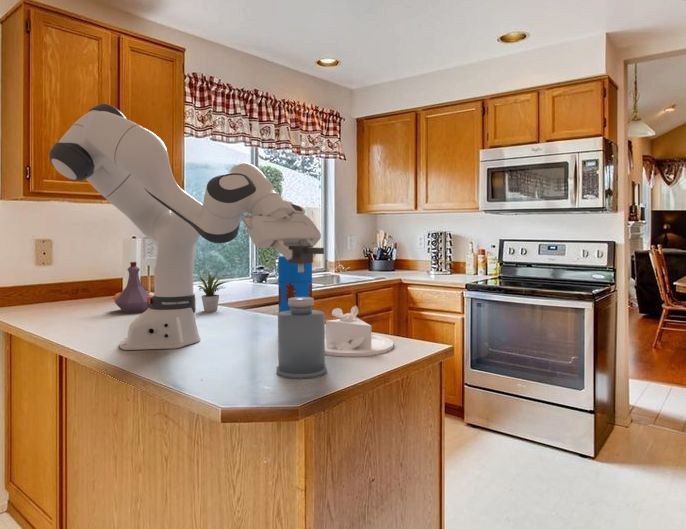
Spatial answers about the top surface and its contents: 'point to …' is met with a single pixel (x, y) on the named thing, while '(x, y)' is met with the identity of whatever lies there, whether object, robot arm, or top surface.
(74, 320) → the top surface
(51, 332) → the top surface
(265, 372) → the top surface
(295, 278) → the thermos
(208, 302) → the house plant
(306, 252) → the pump head
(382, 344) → the dish
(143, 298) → the flask
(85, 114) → the robot arm
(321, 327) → the dispenser
